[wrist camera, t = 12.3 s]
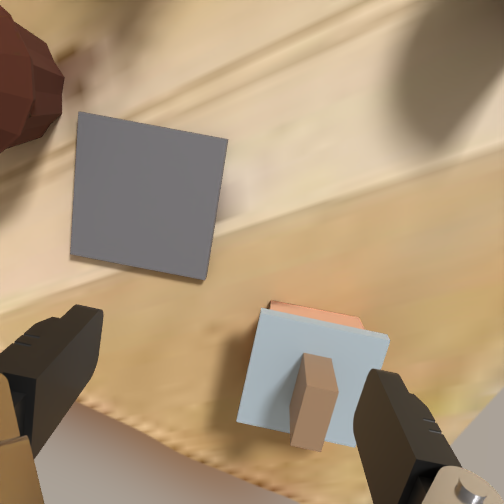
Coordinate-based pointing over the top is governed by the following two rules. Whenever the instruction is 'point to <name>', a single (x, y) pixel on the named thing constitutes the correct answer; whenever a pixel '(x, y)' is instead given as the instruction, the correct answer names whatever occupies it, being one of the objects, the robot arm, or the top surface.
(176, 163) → the mat
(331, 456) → the top surface
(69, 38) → the top surface
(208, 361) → the top surface
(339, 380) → the lid
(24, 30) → the muffin
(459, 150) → the top surface
